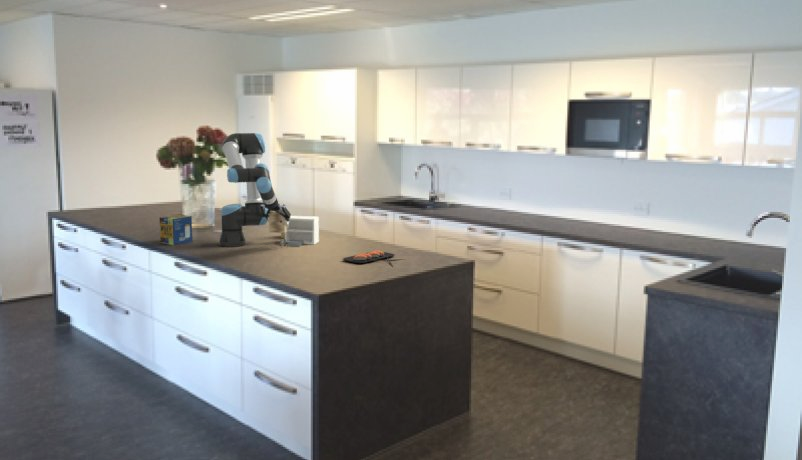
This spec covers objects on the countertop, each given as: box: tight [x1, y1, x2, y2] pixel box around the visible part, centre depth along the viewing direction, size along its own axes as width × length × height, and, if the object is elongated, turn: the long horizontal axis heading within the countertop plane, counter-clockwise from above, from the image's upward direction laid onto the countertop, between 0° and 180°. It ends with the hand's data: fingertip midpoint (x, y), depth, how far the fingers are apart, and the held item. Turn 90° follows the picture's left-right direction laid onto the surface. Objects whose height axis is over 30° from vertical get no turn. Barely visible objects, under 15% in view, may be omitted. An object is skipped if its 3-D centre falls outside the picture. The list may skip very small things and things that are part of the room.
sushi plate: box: [342, 250, 406, 268], centre depth 353 cm, size 29×30×4 cm
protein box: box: [159, 214, 193, 246], centre depth 395 cm, size 10×15×16 cm
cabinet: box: [280, 215, 320, 247], centre depth 397 cm, size 18×18×15 cm
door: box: [268, 211, 287, 234], centre depth 381 cm, size 9×4×12 cm, turn 81°
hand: (279, 223), depth 385 cm, fingers closed on door, 9 cm apart
